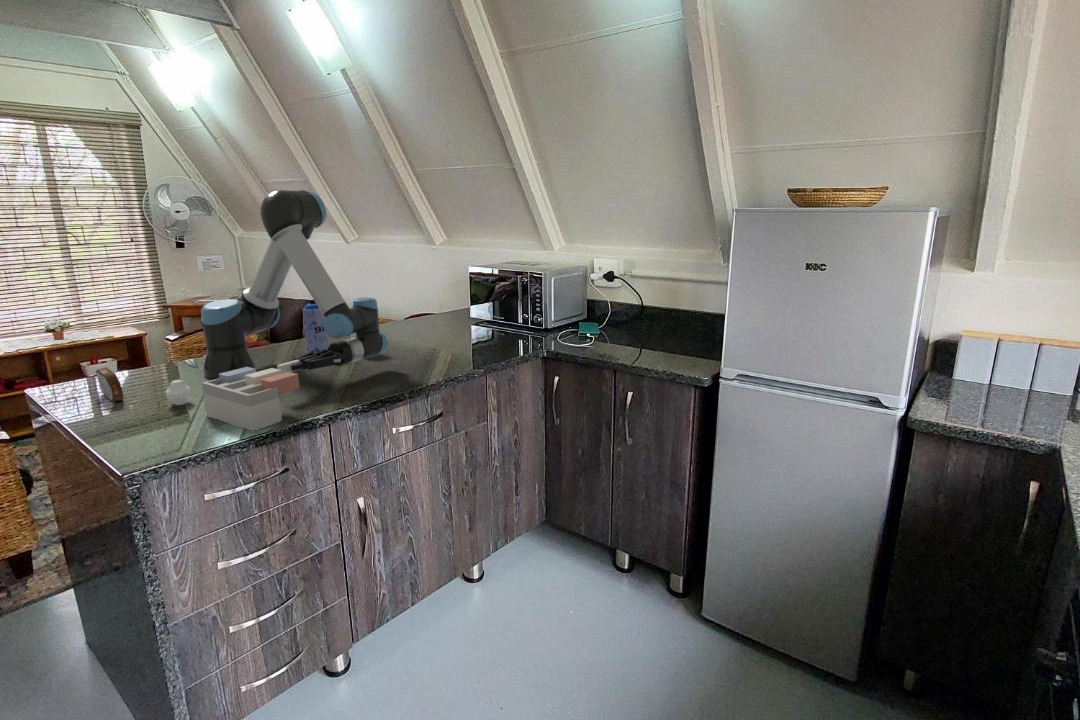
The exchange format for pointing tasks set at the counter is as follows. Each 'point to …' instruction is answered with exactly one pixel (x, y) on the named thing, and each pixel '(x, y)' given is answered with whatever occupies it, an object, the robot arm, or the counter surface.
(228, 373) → the blue-grey rectangular block
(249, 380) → the ivory key
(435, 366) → the counter surface
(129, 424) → the counter surface
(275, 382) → the terracotta key
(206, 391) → the grey slotted rack
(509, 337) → the counter surface
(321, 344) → the aerosol can
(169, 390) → the muffin
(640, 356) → the counter surface
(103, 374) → the tin
